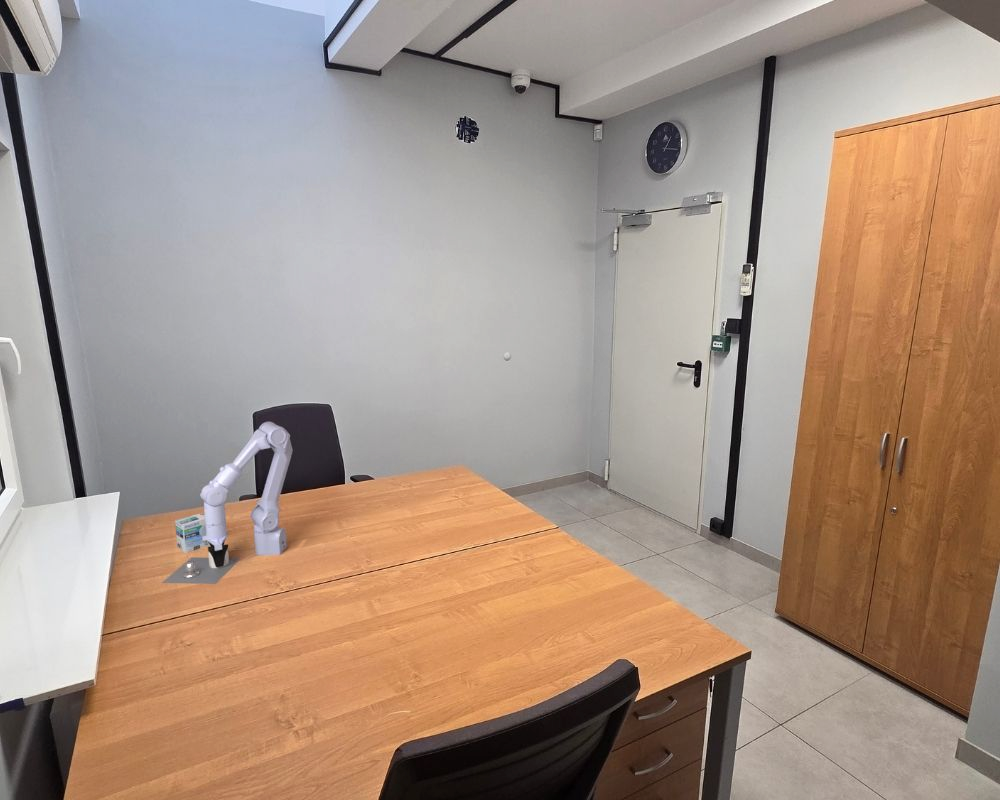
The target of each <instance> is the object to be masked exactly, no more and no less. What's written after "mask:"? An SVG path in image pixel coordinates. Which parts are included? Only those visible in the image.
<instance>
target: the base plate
mask: <svg viewBox="0 0 1000 800" xmlns="http://www.w3.org/2000/svg"><path fill="white" fill-rule="evenodd" d="M241 559H242V558H239V557H237V558H235V557H231V558H230V557H229V563H228V564H227V565H226V566H224V567H220V568H211V567H210V566H209V557H198V556H197V557H195V556H194V557H191V558H189V559H188V560H187V561H186V562H188V561H195V569H197V570H199V575H198V576H196V577H193V578H184V577H183V573H184V572H186V562H185V563H183V564H182V565H181V566H180V567H178V568H177V569H176V570H175V571H174V572H173V573H171V574H170V575H169V576H168V577H167V578H166V579H164V580H163V581H162V583H161V584H195V585H198V584H199V585H200V584H201V585H204V584H205V585H216V584H218V583H219V581H220V580H222V578H223V577H224V576H225V575H226V574H227V573H228V572H229V571H231V569H232V568H233V567H234V566H235V565H236V564H237V563H238V562H239V561H240V560H241Z"/></svg>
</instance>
